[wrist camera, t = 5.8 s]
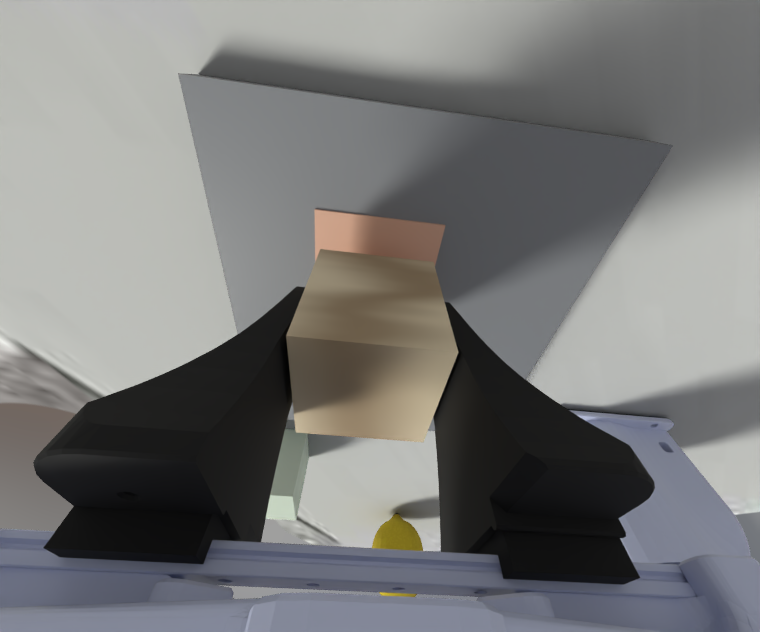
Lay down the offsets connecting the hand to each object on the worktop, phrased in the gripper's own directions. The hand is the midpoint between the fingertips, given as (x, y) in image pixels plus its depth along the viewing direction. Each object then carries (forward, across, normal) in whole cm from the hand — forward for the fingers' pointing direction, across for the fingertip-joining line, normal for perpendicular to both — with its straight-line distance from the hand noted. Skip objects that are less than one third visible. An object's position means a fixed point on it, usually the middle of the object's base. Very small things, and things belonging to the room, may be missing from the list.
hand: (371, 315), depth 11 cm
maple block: (+2, 0, 0) cm, 2 cm away
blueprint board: (+4, -2, +3) cm, 6 cm away
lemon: (+5, -6, +32) cm, 33 cm away
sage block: (+4, +6, +18) cm, 20 cm away
